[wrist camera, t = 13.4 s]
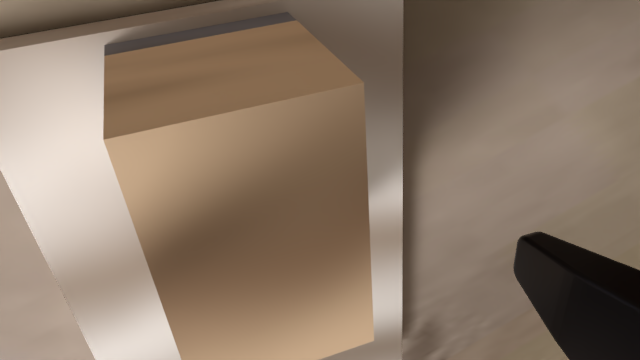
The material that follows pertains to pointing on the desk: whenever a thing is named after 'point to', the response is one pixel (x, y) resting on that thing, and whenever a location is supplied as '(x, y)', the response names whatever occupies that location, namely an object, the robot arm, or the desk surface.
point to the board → (104, 190)
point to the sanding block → (246, 186)
